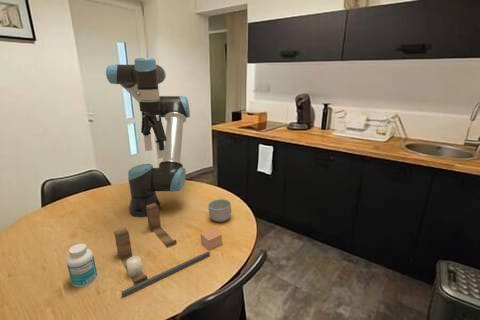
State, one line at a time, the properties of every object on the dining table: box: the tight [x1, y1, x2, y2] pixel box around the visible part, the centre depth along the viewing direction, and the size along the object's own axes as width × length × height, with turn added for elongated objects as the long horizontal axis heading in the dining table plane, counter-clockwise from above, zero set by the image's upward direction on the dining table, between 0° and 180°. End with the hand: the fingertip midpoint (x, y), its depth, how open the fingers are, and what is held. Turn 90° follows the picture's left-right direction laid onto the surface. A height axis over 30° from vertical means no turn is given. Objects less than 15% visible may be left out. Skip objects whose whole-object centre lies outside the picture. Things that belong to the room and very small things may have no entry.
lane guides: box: [120, 250, 211, 298], centre depth 97 cm, size 24×31×3 cm
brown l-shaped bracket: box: [113, 226, 148, 286], centre depth 91 cm, size 20×4×12 cm, turn 38°
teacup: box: [207, 197, 232, 223], centre depth 126 cm, size 14×11×8 cm
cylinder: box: [126, 255, 143, 278], centre depth 88 cm, size 4×4×5 cm
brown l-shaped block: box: [146, 203, 177, 248], centre depth 109 cm, size 20×4×12 cm, turn 38°
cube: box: [200, 227, 223, 251], centre depth 104 cm, size 6×6×6 cm
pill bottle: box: [65, 243, 98, 288], centre depth 85 cm, size 8×7×14 cm
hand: (155, 154), depth 107 cm, fingers open, 13 cm apart
